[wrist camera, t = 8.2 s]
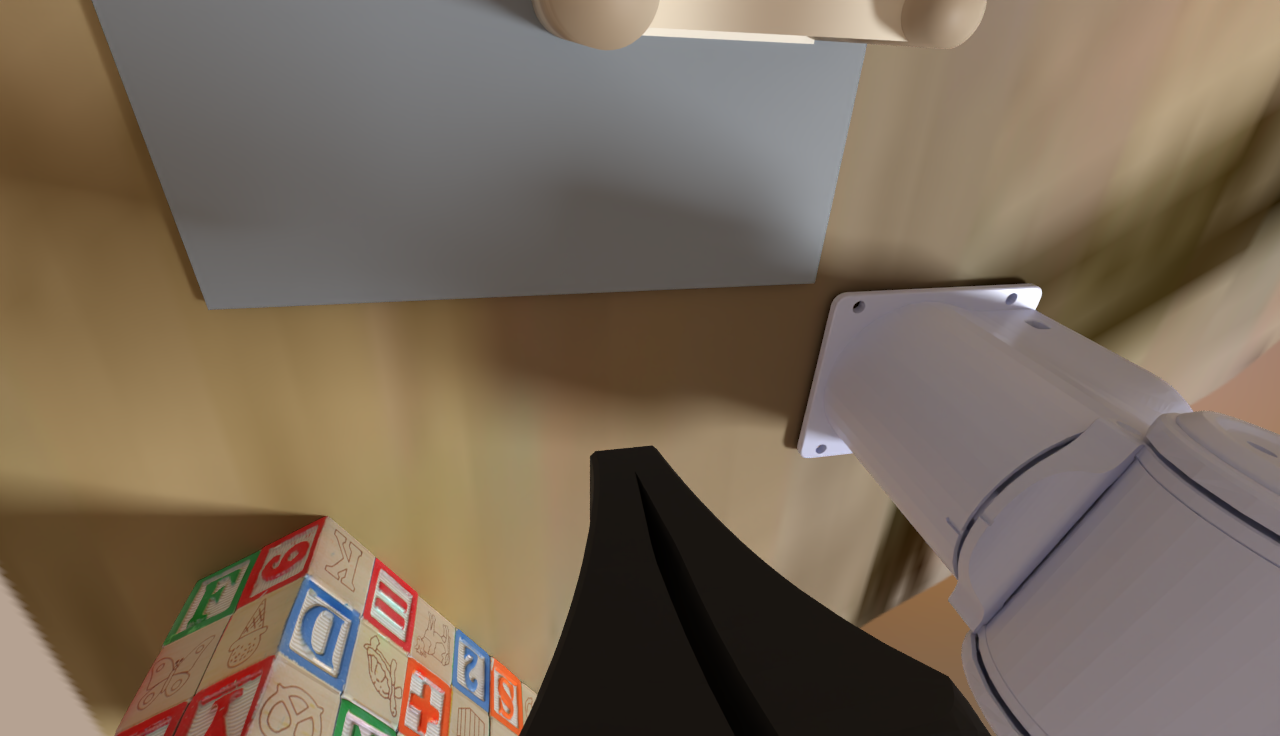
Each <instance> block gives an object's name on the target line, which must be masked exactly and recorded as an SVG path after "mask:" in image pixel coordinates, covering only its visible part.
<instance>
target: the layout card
mask: <svg viewBox="0 0 1280 736" xmlns="http://www.w3.org/2000/svg"><path fill="white" fill-rule="evenodd" d="M92 3H93V5H94V8H95V10H96V13H97V16H98V18H99V21H100V24H101V26H102V29H103V32H104V34H105V37H106V40H107V42H108V45H109V48H110V50H111V53H112V56H113V58H114V61H115V63H116V66H117V69H118V71H119V74H120V77H121V79H122V82H123V85H124V87H125V90H126V93H127V95H128V98H129V101H130V103H131V106H132V109H133V111H134V114H135V116H136V119H137V122H138V124H139V127H140V130H141V132H142V135H143V138H144V140H145V143H146V146H147V148H148V151H149V154H150V156H151V159H152V162H153V164H154V167H155V169H156V172H157V175H158V177H159V180H160V183H161V185H162V188H163V191H164V193H165V196H166V199H167V201H168V204H169V207H170V209H171V212H172V215H173V217H174V220H175V222H176V225H177V228H178V230H179V233H180V236H181V238H182V241H183V244H184V246H185V249H186V252H187V254H188V257H189V260H190V262H191V265H192V268H193V270H194V273H195V275H196V278H197V281H198V283H199V286H200V289H201V291H202V294H203V297H204V299H205V302H206V305H207V307H208V310H213V309H236V308H259V307H282V306H305V305H328V304H351V303H373V302H396V301H419V300H442V299H465V298H488V297H511V296H534V295H557V294H579V293H602V292H625V291H648V290H671V289H694V288H717V287H740V286H762V285H785V284H808V283H815V280H816V275H817V270H818V266H819V261H820V257H821V252H822V248H823V243H824V238H825V234H826V229H827V225H828V220H829V216H830V211H831V206H832V202H833V197H834V193H835V188H836V184H837V179H838V174H839V170H840V165H841V161H842V156H843V152H844V147H845V142H846V138H847V133H848V129H849V124H850V119H851V115H852V110H853V106H854V101H855V97H856V92H857V87H858V83H859V78H860V74H861V69H862V65H863V60H864V55H865V51H866V46H867V44H864V43H849V42H834V41H819V40H813V39H811V38H809V37H808V36H798V35H779V34H761V33H742V32H723V31H705V30H686V29H668V28H648V29H647V30H646V31H645V33H644V34H643V35H642V36H641V37H640V38H639V39H637V40H636V41H635V42H633V43H632V44H630V45H628V46H626V47H623V48H620V49H616V50H598V49H595V48H591V47H588V46H585V45H581V44H578V43H574V42H571V41H568V40H564V39H561V38H559V37H556V36H554V35H553V34H551V33H550V32H549V31H547V30H546V29H545V28H544V27H543V25H542V24H541V23H540V21H539V20H538V18H537V16H536V14H535V11H534V8H533V5H532V0H92Z"/></svg>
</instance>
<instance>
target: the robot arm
mask: <svg viewBox="0 0 1280 736" xmlns="http://www.w3.org/2000/svg"><path fill="white" fill-rule="evenodd" d="M1041 295H1042V290H1041V288H1040V287H1038V286H1036V285H1034V284H1030V283H1029V284H1008V285H987V286H966V287H945V288H924V289H903V290H883V291H862V292H845V293H841V294H839V295H838V296H836V297H835V299H834V300H833V302H832V304H831V308H830V312H829V316H828V320H827V324H826V328H825V333H824V337H823V341H822V345H821V349H820V353H819V358H818V362H817V366H816V370H815V374H814V379H813V383H812V387H811V391H810V395H809V399H808V404H807V408H806V412H805V416H804V420H803V424H802V429H801V433H800V437H799V441H798V445H797V450H798V452H799V453H800V455H801V456H802V457H804V458H814V457H823V456H832V455H841V454H850V453H853V454H854V455H855V456H856V457H857V459H858V460H859V461H860V462H861V463H862V465H863V466H864V467H865V468H866V470H867V471H868V472H869V473H870V474H871V476H872V477H873V478H874V479H875V480H876V482H877V483H878V484H879V485H880V486H881V488H882V489H883V490H884V491H885V493H886V494H887V495H888V496H889V497H890V499H891V500H892V501H893V502H894V503H895V505H896V506H897V507H898V508H899V510H900V511H901V512H902V513H903V514H904V516H905V517H906V518H907V519H908V520H909V522H910V523H911V524H912V525H913V527H914V528H915V529H916V530H917V531H918V533H919V534H920V535H921V536H922V537H923V539H924V540H925V541H926V542H927V544H928V545H929V546H930V547H931V548H932V550H933V551H934V552H935V553H936V554H937V556H938V557H939V558H940V559H941V560H942V562H943V563H944V564H945V565H946V567H947V568H948V569H949V570H950V571H951V573H952V574H953V575H954V576H955V577H956V579H957V580H958V582H957V585H956V587H955V589H954V591H953V592H952V594H951V595H950V597H949V599H948V601H949V602H950V604H951V605H952V606H953V607H954V609H955V610H956V611H957V613H958V614H959V615H960V616H961V617H962V619H963V620H964V621H965V623H966V624H967V625H968V627H969V628H970V631H969V632H968V633H967V634H966V636H965V639H964V641H963V644H962V654H961V656H962V663H963V669H964V672H965V675H966V678H967V681H968V684H969V687H970V689H971V691H972V693H973V695H974V697H975V699H976V701H977V703H978V705H979V707H980V708H981V710H982V712H983V714H984V716H985V718H986V720H987V721H988V723H989V724H990V726H991V728H992V729H993V731H994V732H995V734H996V735H997V736H1280V435H1278V434H1276V433H1274V432H1271V431H1269V430H1266V429H1264V428H1261V427H1259V426H1256V425H1254V424H1251V423H1248V422H1245V421H1243V420H1240V419H1237V418H1234V417H1231V416H1228V415H1225V414H1221V413H1217V412H1212V411H1199V412H1193V410H1192V409H1191V407H1190V406H1189V404H1188V403H1187V402H1186V401H1185V399H1184V398H1183V397H1182V396H1181V395H1180V394H1179V393H1178V392H1177V391H1176V390H1175V389H1174V388H1173V387H1172V386H1171V385H1169V384H1168V383H1167V382H1166V381H1164V380H1163V379H1161V378H1160V377H1158V376H1156V375H1154V374H1153V373H1151V372H1149V371H1147V370H1145V369H1143V368H1142V367H1140V366H1138V365H1136V364H1134V363H1132V362H1130V361H1129V360H1127V359H1125V358H1123V357H1121V356H1119V355H1117V354H1116V353H1114V352H1112V351H1110V350H1108V349H1106V348H1104V347H1103V346H1101V345H1099V344H1097V343H1095V342H1093V341H1091V340H1090V339H1088V338H1086V337H1084V336H1082V335H1080V334H1078V333H1077V332H1075V331H1073V330H1071V329H1069V328H1067V327H1065V326H1064V325H1062V324H1060V323H1058V322H1056V321H1054V320H1053V319H1051V318H1049V317H1047V316H1045V315H1043V314H1041V313H1040V312H1038V311H1036V310H1035V309H1036V307H1037V305H1038V303H1039V300H1040V298H1041ZM1008 296H1009V297H1008ZM1007 297H1008V298H1007ZM859 301H860V303H859V305H858V306H857V307H856V308H854V309H853V306H854V304H856V303H857V302H859ZM819 445H821V446H820V447H818V446H819ZM817 447H818V448H817ZM519 736H991V735H990V733H989V732H988V730H987V729H986V727H985V726H984V725H983V723H982V722H981V720H980V719H979V717H978V715H977V714H976V713H975V711H974V710H973V708H972V707H971V705H970V704H969V702H968V701H967V700H966V698H965V697H964V696H963V695H962V693H961V692H960V691H959V689H958V688H957V687H956V686H955V684H954V683H953V682H952V681H951V679H950V678H949V677H948V676H946V675H944V674H942V673H941V672H939V671H937V670H935V669H932V668H931V667H929V666H927V665H925V664H923V663H921V662H919V661H917V660H915V659H913V658H912V657H910V656H907V655H906V654H904V653H902V652H900V651H897V650H896V649H894V648H892V647H890V646H888V645H887V644H885V643H883V642H881V641H880V640H878V639H876V638H875V637H873V636H871V635H870V634H868V633H866V632H864V631H863V630H861V629H859V628H858V627H856V626H854V625H853V624H851V623H849V622H848V621H846V620H845V619H843V618H841V617H840V616H838V615H837V614H835V613H834V612H832V611H831V610H829V609H828V608H826V607H825V606H824V605H822V604H821V603H819V602H818V601H816V600H815V599H813V598H812V597H810V596H809V595H807V594H806V593H804V592H803V591H801V590H800V589H799V588H797V587H796V586H795V585H793V584H792V583H791V582H789V581H788V580H787V579H785V578H784V577H783V576H781V575H780V574H779V573H778V572H776V571H775V570H774V569H773V568H772V567H770V566H769V565H768V564H767V563H765V562H764V561H763V560H762V559H761V558H759V557H758V556H757V555H756V554H755V553H754V552H752V551H751V550H750V549H749V548H748V547H747V546H746V545H745V544H744V543H742V542H741V541H740V540H739V539H738V538H737V537H736V536H735V535H734V534H733V533H732V532H731V531H730V530H729V529H728V528H727V527H726V526H725V525H724V524H723V523H722V522H721V521H720V520H719V519H718V518H717V517H716V516H715V515H714V514H713V513H712V512H711V511H710V510H709V509H708V508H707V507H706V506H705V505H704V504H703V503H702V502H701V501H700V500H699V499H698V497H697V496H696V495H695V494H694V493H693V492H692V491H691V490H690V489H689V487H688V486H687V485H686V484H685V483H684V482H683V481H682V479H681V478H680V477H679V476H678V475H677V474H676V472H675V471H674V470H673V469H672V468H671V466H670V465H669V464H668V463H667V461H666V460H665V459H664V458H663V456H662V455H661V454H660V453H659V451H658V450H657V449H656V448H655V447H654V446H643V447H633V448H623V449H614V450H604V451H595V452H594V453H593V454H592V455H591V456H590V528H589V533H588V538H587V543H586V548H585V553H584V558H583V563H582V567H581V571H580V575H579V579H578V582H577V586H576V590H575V593H574V596H573V600H572V603H571V607H570V610H569V613H568V616H567V619H566V622H565V625H564V628H563V631H562V634H561V637H560V639H559V642H558V645H557V648H556V650H555V653H554V656H553V658H552V661H551V663H550V666H549V668H548V670H547V673H546V675H545V678H544V680H543V683H542V685H541V687H540V690H539V692H538V695H537V697H536V700H535V702H534V704H533V706H532V709H531V711H530V713H529V715H528V717H527V719H526V722H525V724H524V726H523V728H522V730H521V732H520V734H519Z"/></svg>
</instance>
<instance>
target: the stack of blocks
mask: <svg viewBox="0 0 1280 736" xmlns="http://www.w3.org/2000/svg"><path fill="white" fill-rule="evenodd" d="M162 648H163V649H162V650H161V652H160V653H159V655H158V656H157V658H156V660H155V662H154V663H153V665H152V667H151V669H150V670H149V672H148V674H147V676H146V677H145V679H144V681H143V683H142V685H141V686H140V688H139V690H138V692H137V694H136V695H135V697H134V699H133V701H132V702H131V704H130V706H129V708H128V710H127V712H126V713H125V715H124V717H123V719H122V721H121V723H120V725H119V726H118V728H117V730H116V733H115V736H519V734H520V732H521V730H522V728H523V726H524V724H525V722H526V719H527V717H528V715H529V713H530V711H531V709H532V706H533V704H534V702H535V700H536V697H537V694H536V693H535V692H533V691H532V690H531V689H530V688H529V687H528V686H526V685H525V684H523V683H521V682H520V680H519V679H518V678H517V677H516V676H515V675H513V674H512V673H511V672H510V671H509V670H508V669H507V668H505V667H504V666H503V665H502V664H501V663H500V662H498V661H497V660H496V659H495V658H494V657H489V655H488V654H487V653H486V652H485V651H484V650H483V649H481V648H480V647H479V646H478V645H477V644H476V643H474V642H473V641H472V640H470V639H469V638H468V637H467V636H466V635H465V634H464V633H462V632H461V631H460V630H459V629H457V628H455V627H454V626H453V625H452V624H451V623H450V622H449V621H448V620H447V619H445V618H444V617H443V616H442V615H440V614H439V613H438V612H437V611H436V610H435V609H433V608H432V607H431V606H430V605H429V604H428V603H426V602H425V601H424V600H423V599H422V598H420V597H419V596H418V594H417V592H416V591H414V590H413V589H412V588H411V587H410V586H409V585H408V584H406V583H405V582H404V581H403V580H402V579H400V578H399V577H398V576H397V575H396V574H395V573H394V572H392V571H391V570H390V569H389V568H388V567H386V566H385V565H384V564H383V563H382V562H381V561H379V560H378V559H377V558H375V557H374V555H373V554H372V553H371V552H370V551H369V550H367V549H366V548H365V547H364V546H363V545H362V544H360V543H359V542H358V541H357V540H356V539H355V538H353V537H352V536H351V535H350V534H349V533H348V532H346V531H345V530H344V529H343V528H342V527H341V526H339V525H338V524H337V523H336V522H335V521H334V520H332V519H331V518H330V517H328V516H325V517H323V518H321V519H319V520H317V521H315V522H313V523H311V524H309V525H307V526H305V527H303V528H301V529H299V530H297V531H295V532H293V533H291V534H289V535H287V536H285V537H283V538H281V539H279V540H277V541H275V542H273V543H271V544H269V545H267V546H265V547H264V548H262V549H261V550H260V551H258V552H256V553H254V554H252V555H250V556H248V557H246V558H244V559H242V560H240V561H238V562H236V563H234V564H231V565H229V566H227V567H225V568H223V569H221V570H219V571H217V572H215V573H213V574H212V575H210V576H208V577H205V578H203V579H201V580H199V581H198V582H197V583H196V585H195V587H194V588H193V590H192V592H191V594H190V595H189V597H188V599H187V601H186V602H185V604H184V606H183V608H182V610H181V612H180V614H179V615H178V617H177V619H176V620H175V622H174V624H173V626H172V628H171V630H170V632H169V634H168V635H167V637H166V639H165V641H164V643H163V645H162Z"/></svg>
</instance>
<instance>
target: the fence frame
mask: <svg viewBox="0 0 1280 736" xmlns="http://www.w3.org/2000/svg"><path fill="white" fill-rule="evenodd" d="M986 2H987V0H532V5H533V8H534V11H535V14H536V16H537V18H538V20H539V21H540V23H541V24H542V25H543V27H544V28H545V29H546V30H547V31H549V32H550V33H551V34H553V35H554V36H556V37H559V38H561V39H564V40H568V41H571V42H574V43H578V44H581V45H585V46H588V47H591V48H595V49H598V50H616V49H620V48H623V47H626V46H628V45H630V44H632V43H633V42H635V41H636V40H637V39H639V38H640V37H641V36H642V35H643V34H644V33H645V31H646V30H647V29H648V28H668V29H686V30H705V31H723V32H742V33H761V34H779V35H798V36H808V37H809V38H811V39H813V40H819V41H834V42H849V43H864V44H878V45H893V46H908V47H923V48H938V49H950V48H954V47H957V46H958V45H960V44H962V43H963V42H965V41H966V40H967V39H968V38H969V37H970V36H971V35H972V34H973V33H974V32H975V30H976V29H977V27H978V25H979V24H980V22H981V20H982V17H983V15H984V12H985V8H986Z"/></svg>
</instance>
